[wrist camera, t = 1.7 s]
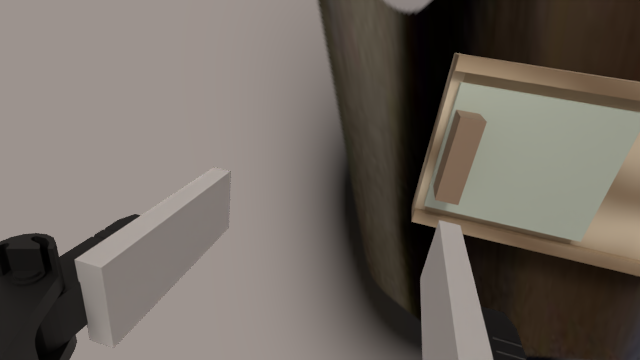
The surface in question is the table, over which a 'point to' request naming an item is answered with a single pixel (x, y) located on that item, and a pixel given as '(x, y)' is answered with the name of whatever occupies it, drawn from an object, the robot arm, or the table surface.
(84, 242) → the robot arm
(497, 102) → the lid
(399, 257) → the table surface
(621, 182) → the wooden box
